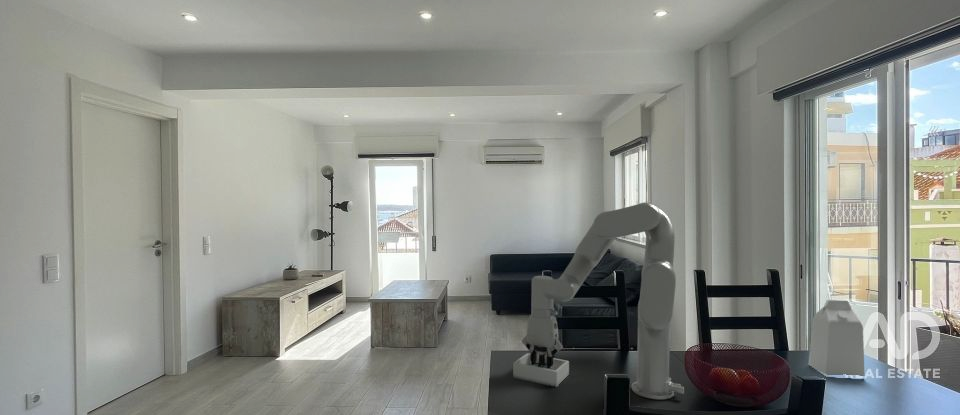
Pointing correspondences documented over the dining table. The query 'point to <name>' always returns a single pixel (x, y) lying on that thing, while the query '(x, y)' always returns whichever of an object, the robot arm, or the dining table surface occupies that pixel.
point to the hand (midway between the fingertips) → (541, 365)
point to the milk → (837, 340)
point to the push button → (541, 357)
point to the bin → (541, 371)
